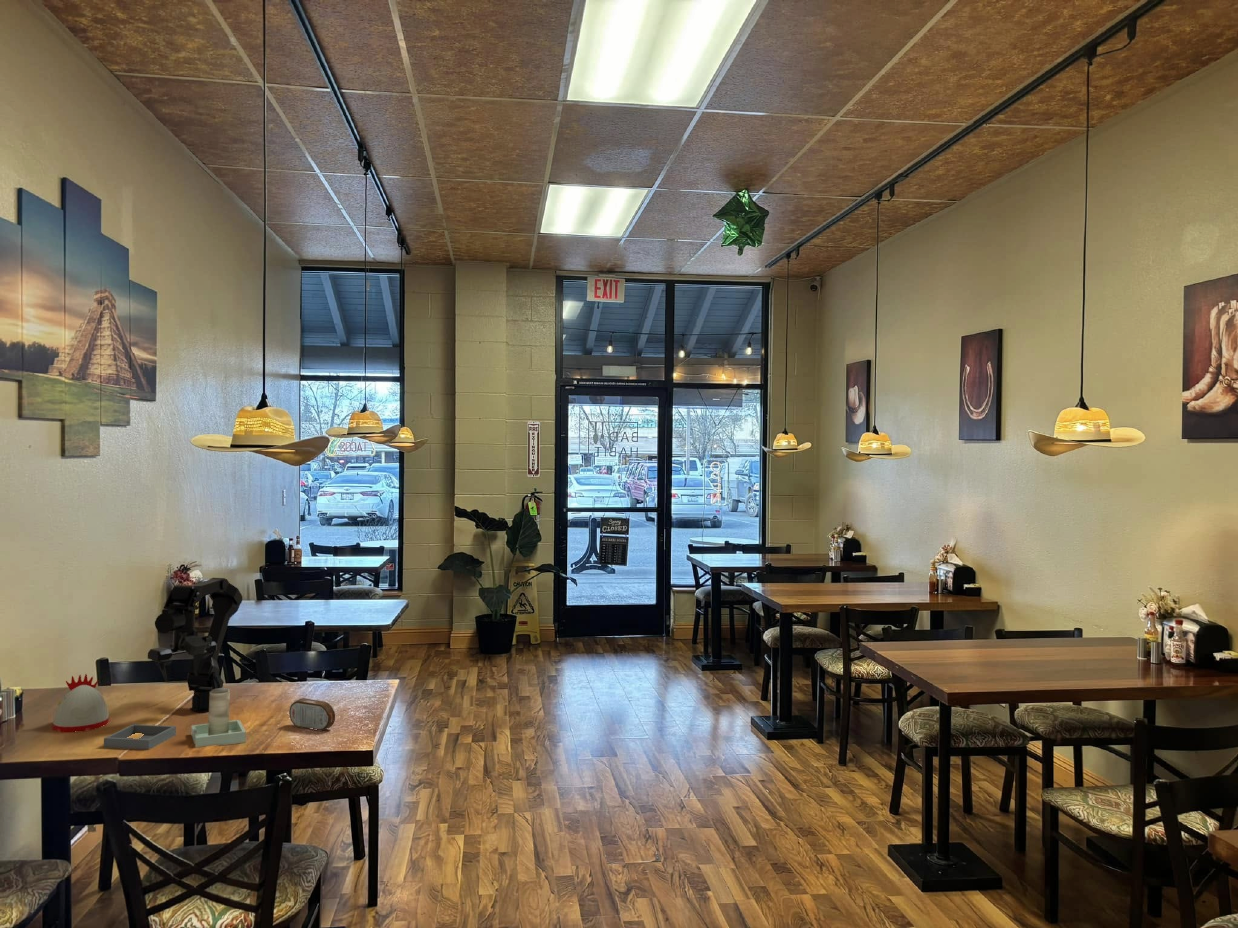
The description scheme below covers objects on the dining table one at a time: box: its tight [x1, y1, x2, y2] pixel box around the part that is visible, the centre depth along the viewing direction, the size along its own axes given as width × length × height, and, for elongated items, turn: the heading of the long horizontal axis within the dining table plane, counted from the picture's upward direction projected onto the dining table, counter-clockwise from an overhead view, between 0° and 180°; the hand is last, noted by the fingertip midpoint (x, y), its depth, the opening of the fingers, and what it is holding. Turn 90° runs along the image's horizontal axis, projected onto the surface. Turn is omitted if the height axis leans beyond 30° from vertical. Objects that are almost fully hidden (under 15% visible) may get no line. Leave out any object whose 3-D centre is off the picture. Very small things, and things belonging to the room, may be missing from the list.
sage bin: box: [190, 719, 247, 748], centre depth 236 cm, size 13×13×3 cm
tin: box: [288, 697, 336, 731], centre depth 249 cm, size 15×3×8 cm, turn 71°
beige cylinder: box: [207, 687, 231, 736], centre depth 237 cm, size 5×5×13 cm
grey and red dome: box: [52, 673, 110, 733], centre depth 245 cm, size 14×14×15 cm
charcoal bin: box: [103, 723, 177, 751], centre depth 231 cm, size 13×13×3 cm
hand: (182, 678), depth 251 cm, fingers open, 9 cm apart
